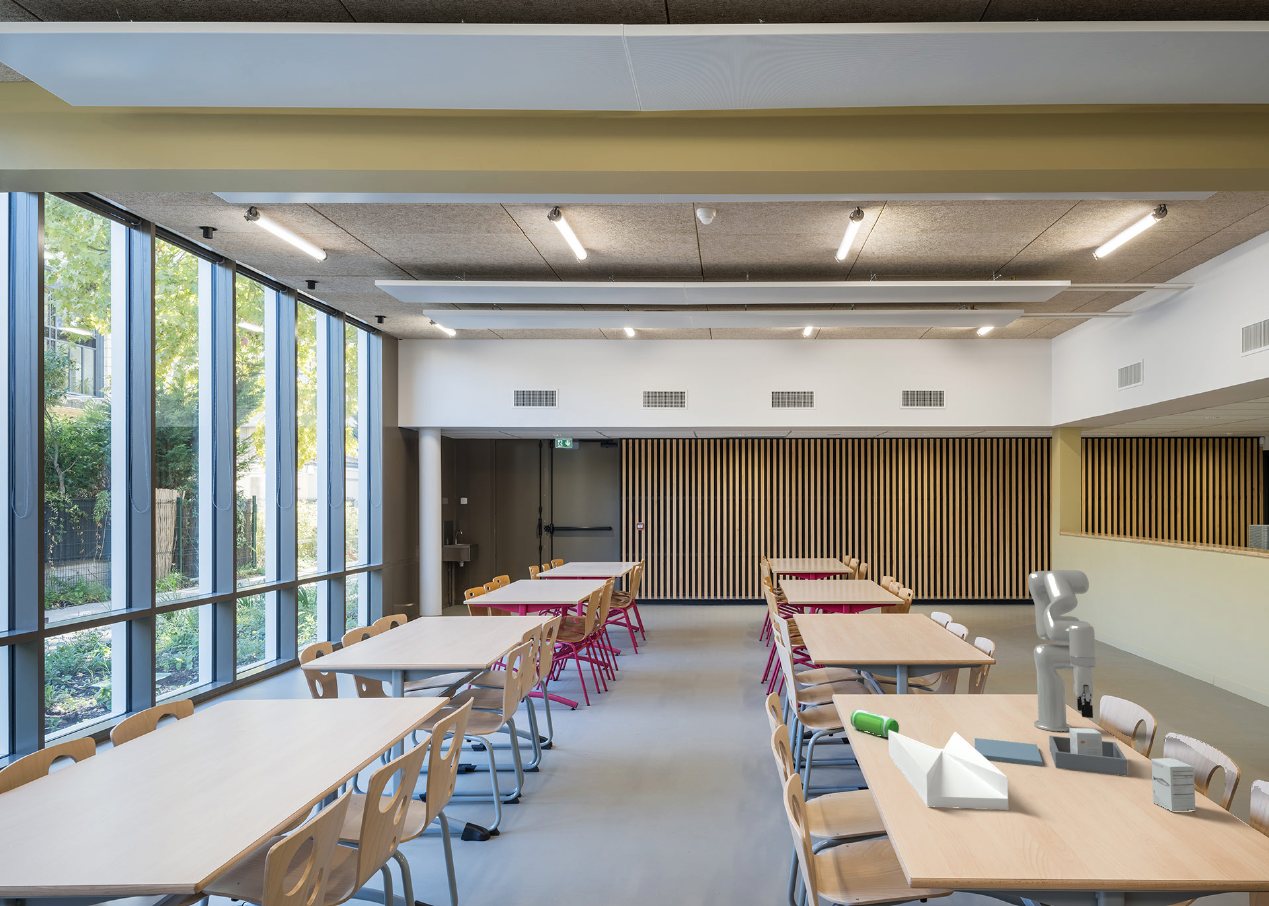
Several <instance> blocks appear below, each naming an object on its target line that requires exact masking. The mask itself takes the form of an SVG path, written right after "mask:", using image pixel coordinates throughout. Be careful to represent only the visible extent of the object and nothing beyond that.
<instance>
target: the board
mask: <svg viewBox="0 0 1269 906" xmlns="http://www.w3.org/2000/svg"><path fill="white" fill-rule="evenodd" d="M974 748H975V749H976V750H977V751H978V752H979V753H980V754H981V755H983V756H984V757H985V758H986V759H987V760H988V761H993V762H1000V761H1002V762H1001V763H1010V764H1018V765H1026V766H1035V765H1037V766H1036V767H1043V761H1042V760H1043V759H1042V757H1041V754H1040V751H1039V748H1038V744H1035V743H1026V742H1025V743H1024V742H1019V741H1018V742H1017V741H1007V740H1006V741H1005V740H997V739H987V738H978V737H974Z"/></svg>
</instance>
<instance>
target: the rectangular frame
mask: <svg viewBox="0 0 1269 906" xmlns="http://www.w3.org/2000/svg"><path fill="white" fill-rule="evenodd" d="M1048 739H1049V740H1048V741H1049V752H1051V753H1050V755H1051V759H1052V760H1053V763H1054V766H1055V768H1056V769H1062V770H1063V769H1064V770H1071V771H1078V772H1079V771H1081V772H1089V773H1096V772H1097V773H1098V774H1106V775H1114V774H1119V775H1118V776H1122V775H1129V773H1128V759H1127V758H1126V755H1124V753H1123V752H1122V749H1120V747H1119V745H1118V743H1117V742H1116V741H1106V740H1102V752H1103V756H1094V755H1085V754H1076V753H1071V750H1070V737H1069V736H1068V737H1067V736H1057V735H1048Z"/></svg>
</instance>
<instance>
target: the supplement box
mask: <svg viewBox="0 0 1269 906" xmlns="http://www.w3.org/2000/svg"><path fill="white" fill-rule="evenodd" d="M1150 759H1151V778H1152V779H1151V780H1152V781H1151V783H1152V803H1153V802H1154V803H1155V804H1156V805H1157V804H1158V805H1157V806H1159V807H1161V806H1162V807H1161V808H1163V807H1164V808H1163V809H1165V808H1166V809H1165V810H1167V809H1169V810H1170V811H1189V810H1195V811H1196V793H1195V792H1196V788H1195V767H1194V766H1193V765H1190V764H1188V763H1186V762H1183V761H1181V760H1178V759H1177V758H1174V757H1167V758H1166V757H1165V758H1163V757H1162V758H1150ZM1154 803H1153V804H1154ZM1155 804H1154V805H1155ZM1169 810H1168V811H1169ZM1170 811H1169V812H1170Z"/></svg>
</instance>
